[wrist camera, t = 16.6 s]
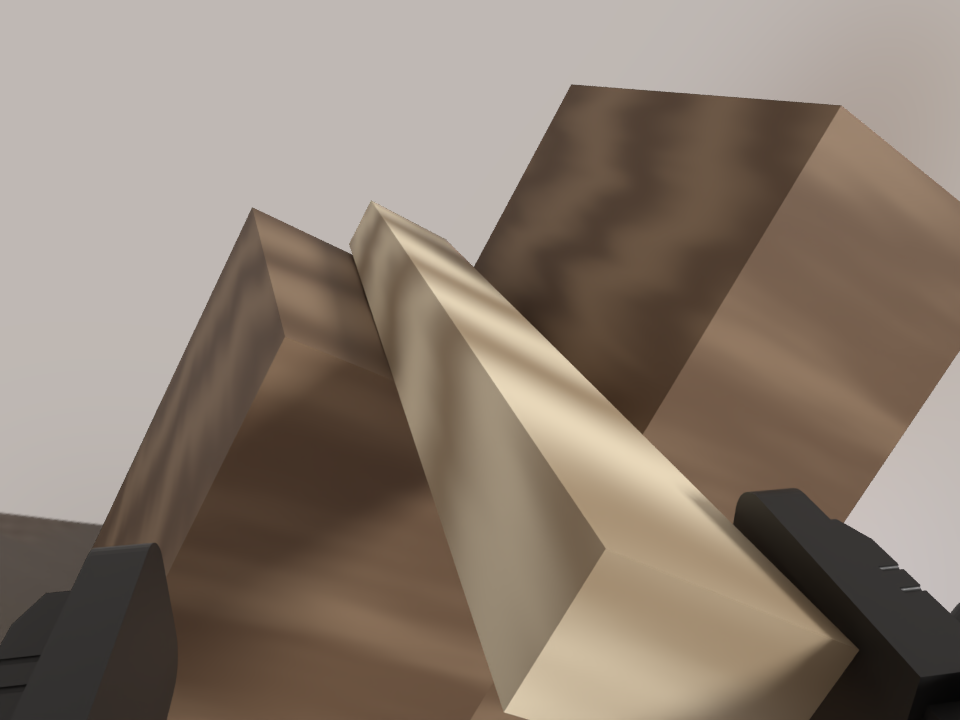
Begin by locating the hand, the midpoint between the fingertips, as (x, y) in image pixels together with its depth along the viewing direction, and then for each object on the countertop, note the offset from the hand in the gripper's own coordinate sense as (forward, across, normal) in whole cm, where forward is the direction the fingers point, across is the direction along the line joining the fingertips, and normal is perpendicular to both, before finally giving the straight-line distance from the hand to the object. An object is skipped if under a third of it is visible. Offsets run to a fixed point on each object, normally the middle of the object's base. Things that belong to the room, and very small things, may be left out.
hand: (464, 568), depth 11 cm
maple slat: (+10, -1, +1) cm, 10 cm away
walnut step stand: (+12, +7, +22) cm, 27 cm away
